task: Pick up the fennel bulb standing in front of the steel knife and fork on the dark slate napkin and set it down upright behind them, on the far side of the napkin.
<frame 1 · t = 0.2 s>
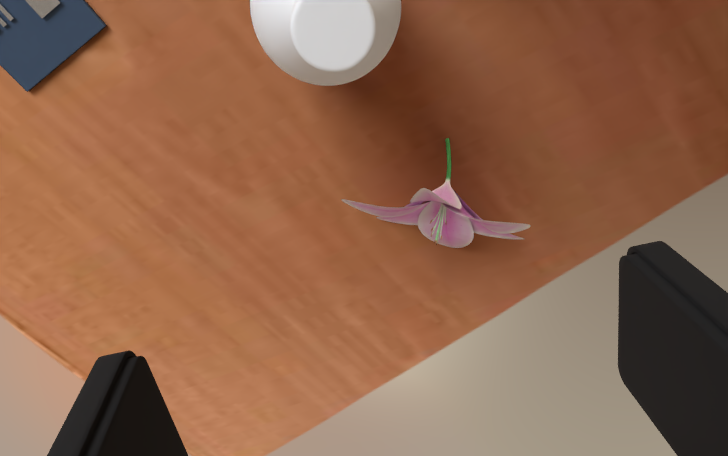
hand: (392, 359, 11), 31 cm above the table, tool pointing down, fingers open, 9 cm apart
lily: (426, 189, 44), on the table
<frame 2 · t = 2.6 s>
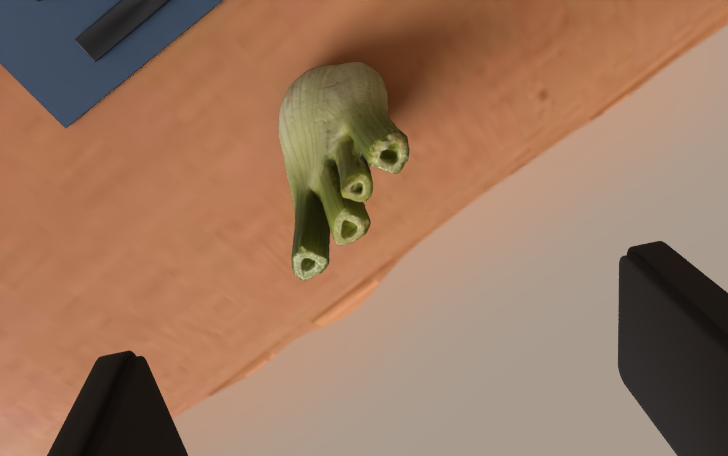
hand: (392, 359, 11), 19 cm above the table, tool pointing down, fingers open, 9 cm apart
fennel bulb: (329, 108, 29), on the table
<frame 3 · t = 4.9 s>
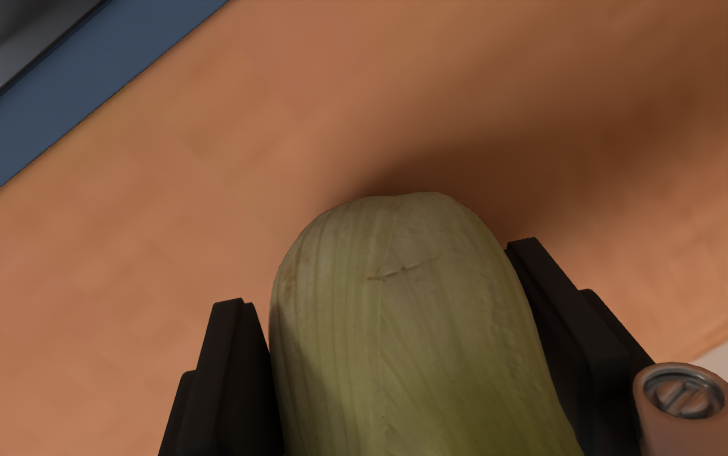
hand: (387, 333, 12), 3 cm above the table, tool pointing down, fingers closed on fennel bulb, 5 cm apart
fennel bulb: (369, 261, 15), on the table, touching gripper
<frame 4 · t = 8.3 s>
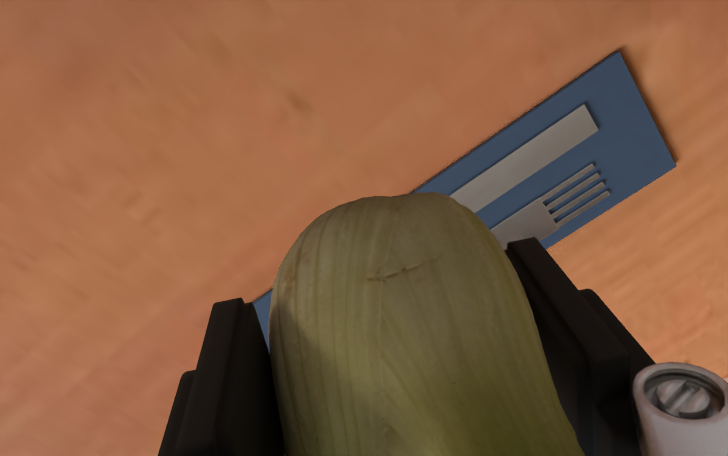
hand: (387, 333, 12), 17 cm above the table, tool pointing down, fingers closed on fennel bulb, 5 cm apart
napkin: (441, 246, 30), on the table
fennel bulb: (370, 261, 15), point 14 cm above the table, touching gripper
cutlery: (441, 246, 30), resting on napkin
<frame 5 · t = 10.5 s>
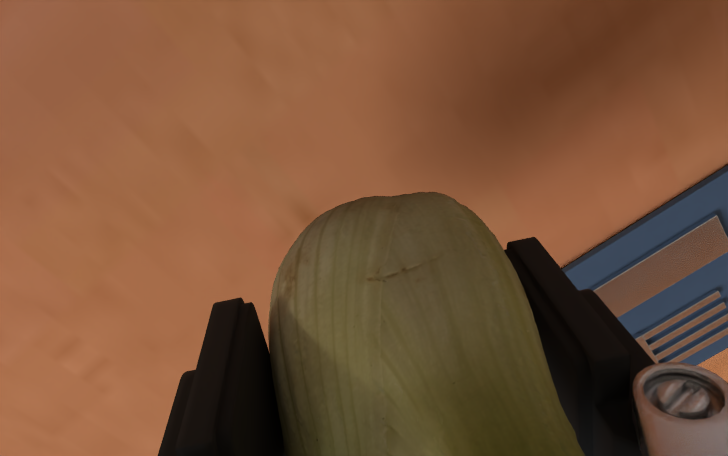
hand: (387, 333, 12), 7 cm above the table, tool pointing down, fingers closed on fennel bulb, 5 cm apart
napkin: (501, 394, 22), on the table
fennel bulb: (370, 261, 15), point 4 cm above the table, touching gripper
cutlery: (501, 394, 22), resting on napkin
when the fingers open (3 cm above the table, at t = 11.9 s): fennel bulb stays where it is, on the table.
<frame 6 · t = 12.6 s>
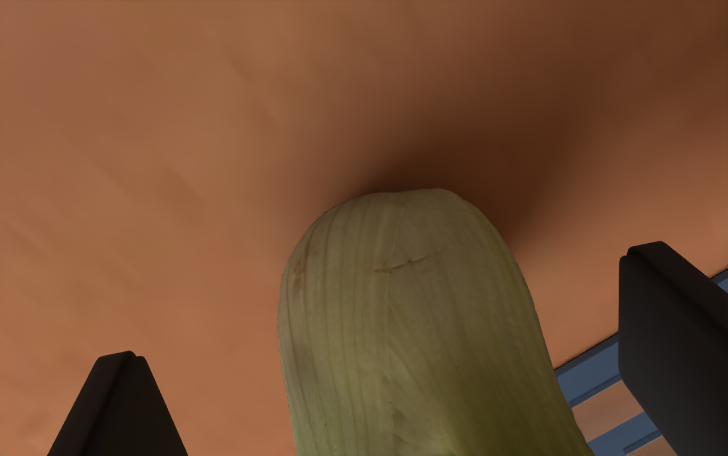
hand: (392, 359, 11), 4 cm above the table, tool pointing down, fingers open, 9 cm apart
fennel bulb: (375, 256, 15), on the table
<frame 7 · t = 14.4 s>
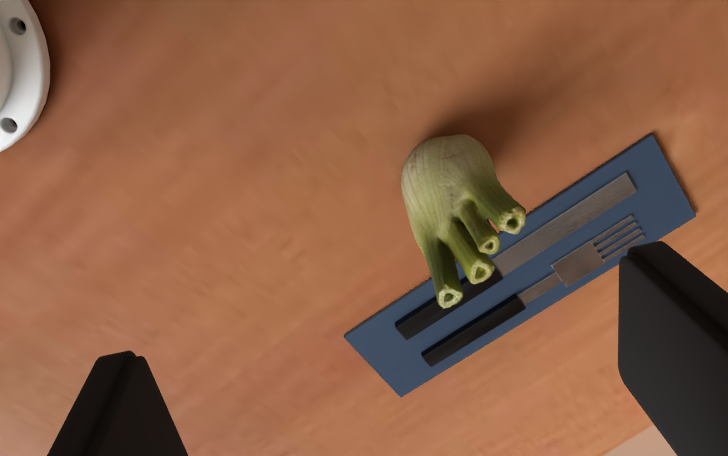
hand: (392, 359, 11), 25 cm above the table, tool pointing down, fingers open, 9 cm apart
napkin: (513, 276, 40), on the table
fennel bulb: (435, 166, 36), on the table
cutlery: (513, 276, 40), resting on napkin
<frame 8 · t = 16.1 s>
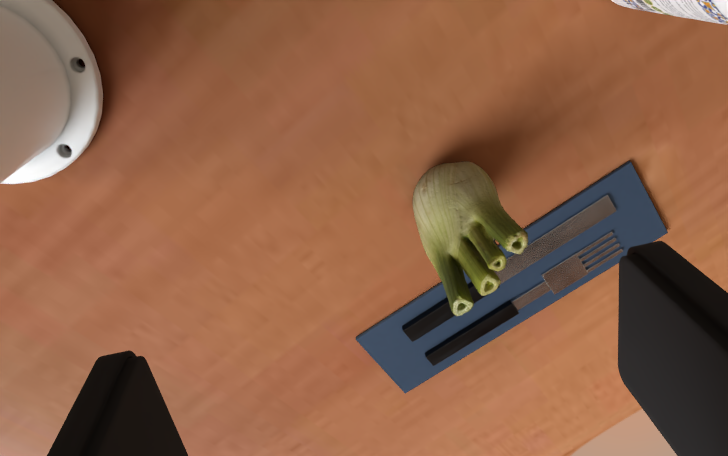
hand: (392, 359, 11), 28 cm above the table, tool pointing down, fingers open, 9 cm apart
napkin: (507, 285, 45), on the table
fennel bulb: (442, 188, 41), on the table
cutlery: (507, 285, 45), resting on napkin
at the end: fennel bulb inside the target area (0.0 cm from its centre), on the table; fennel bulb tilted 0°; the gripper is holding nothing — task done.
